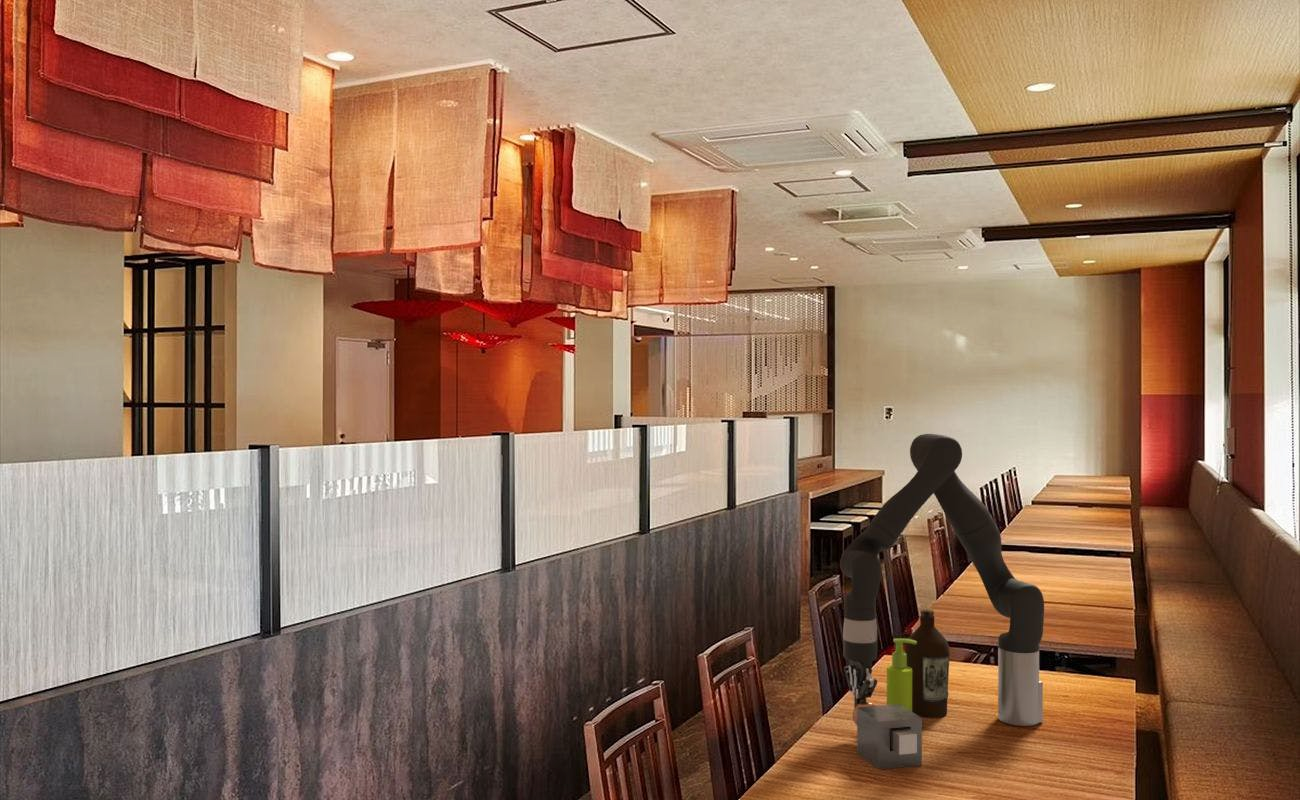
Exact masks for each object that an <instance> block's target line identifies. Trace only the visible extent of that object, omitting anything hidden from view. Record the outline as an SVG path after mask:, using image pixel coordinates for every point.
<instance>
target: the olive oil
mask: <svg viewBox="0 0 1300 800" xmlns="http://www.w3.org/2000/svg"><path fill="white" fill-rule="evenodd" d="M934 614H935V610H933V609H920V616H919V623H920V624H919V626H918V627H917V628H916V629H915V630H914V631H913V632H912V633H911V634H910V635H909V637H908V638H907V639H912V640H915V641H917V643H916V644H911V643H905V646H904V652H905V653H906V654H907V666H908V667H911V668H912V712H913V713H915V714H916V715H918V716H920V717H921V718H925V719H927V718H928V719H935V718H936V719H938V718H944V717H945V716H947V714H948V698H949V673H950V656H951V654H950V653H951V652H950V651H951V650H950V646H949V643H948V641H947V639H946V638H945V637H944V635H942V633H941V632H940V631H939V630H938V629H937V628H936V626H935V616H934Z"/></svg>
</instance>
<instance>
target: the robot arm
mask: <svg viewBox="0 0 1300 800" xmlns="http://www.w3.org/2000/svg"><path fill="white" fill-rule="evenodd" d="M909 456H910V460H911V462H912V465H913V466H914V468H915V469H916V471H917V472H916V473H915V474H914V476H913V477H912V478H911V480H909V481H908V482H907V484H905V485H904V486H903V487H902V488H901V489H900V490H899V491H897V492H896V493H895V494H894V495H893V496H891V497H890V498H889V499H888V500H887V501H885V503H884V504H883V505H882V506H881V508H879V510H878V511H877V513H875V515H874V517H873V518H872V520H871V521H870V523H869V524H868V526H867V528H866V529H865V530H864V531H863V532H861V533H860V534H858V536H856V538H855V539H854V540H853V541H852V542H851V543H850V544H849V545H848V546H847V547H846V549H845V550H844V551H843V552H842V555H841V558H840V561H839V568H840V570H841V572H842V574H843V575H844V576H846V577H847V578H849V579H851V588H850V589H851V590H849V591H848V592H846V594H845V595H844V605H843V606H844V608H843V609H844V611H843V612H844V614H843V615H844V618H843V619H844V620H843V628H842V629H843V631H842V634H843V637H842V639H843V640H842V641H843V643H842V644H843V645H842V647H843V648H842V649H843V650H842V651H843V652H842V653H843V654H842V655H843V658H844V659H846V660H847V661H848V666H844V667H843V671H844V675H845V679H846V682H847V686H848V690H849V691H850V692H852V697H853V700H854V701H853V703H854V704H853V705H854V706H853V707H854V709H855V707H856V706H857V705H858V704H859V703H861V702H865V701H867V698H872V695H873V693H874V691H875V690H876V689H875V688H876V687H877V684H878V680H877V678H873V676H872V673H873V670H872V669H873V668H872V662H873V661H877V658H878V626H877V608H876V607H877V605H876V603H877V597H878V594H879V593H878V592H879V589H880V584H881V579H882V567H881V566H882V565H881V562H880V560H879V558H878V556H879V554H880V553H881V552H883V551H888V550H890V549H891V548H892V547H893V546H895V543H896V542H897V541H898V539H899V537H901V535H902V534H903V532H904V531H905V529H906V527H908V524H909V523H910V522H911V520H912V519H913V518H914V516H915V515H916V514H917V513H918V512H919V510H921V508H922V507H923V505H925V504H926V502H927V501H928V500H929V499H930V498H931V496H933V495H934V496H935V499H936V500H937V502H938V503H939V506H940V508H941V509H942V511H943V513H944V515H945V516H946V519H947V520H948V522H949V524H950V526H951V527H952V530H953V532H954V533H955V536H956V537H957V538H958V540H959V542H960V544H961V545H962V547H963V548H964V550H965V552H966V553H967V555H968V557H969V559H970V561H971V563H972V564H973V566H974V568H975V569H976V571H977V574H979V577H980V580H981V582H982V584H983V586H984V588H985V591H986V593H987V596H988V598H989V601H990V602H991V605H992V606H993V608H994V610H995V611H996V612H997V613H998V614H1000V615H1001V616H1003V617H1006V618H1009V629H1008V631H1007V632H1003V633H1001V634H999V636H998V640H997V641H998V643H997V644H998V647H997V648H998V650H997V655H998V659H997V660H998V661H997V663H998V666H997V669H998V670H997V672H998V673H997V680H998V681H997V682H998V683H997V688H998V689H997V693H998V694H997V696H998V697H997V698H998V699H997V704H998V705H997V707H998V708H997V718H998V720H999V721H1000V722H1002V723H1005V724H1009V725H1012V726H1017V727H1019V726H1020V727H1031V726H1036V725H1038V724H1040V723H1043V721H1044V715H1043V714H1044V712H1043V710H1044V709H1043V708H1044V703H1043V702H1044V699H1043V698H1044V697H1043V696H1044V684H1043V682H1042V680H1040V645H1041V641H1042V638H1043V636H1044V635H1043V634H1044V622H1045V621H1044V620H1045V600H1044V596H1043V593H1042V591H1041V589H1040V588H1039V587H1038V586H1036V585H1035V584H1032V583H1029V582H1024V581H1022V580H1018V579H1017V578H1015V576H1014V575H1013V574H1012V572H1011V571H1010V569H1009V568H1008V565H1007V564H1006V562H1005V560H1004V558H1003V554H1002V536H1001V532H1000V529H999V527H998V526H997V523H996V521H995V520H994V518H993V516H992V514H991V513H990V511H989V509H988V508H987V507H986V505H985V504H984V503H983V501H981V500H980V498H979V497H977V495H976V494H975V493H974V492H972V491H971V490H970V489H969V488H968V486H966V484H965V483H963V481H962V480H961V479H960V477H959V476H958V475H957V473H956V470H957V469H958V468H959V466H960V464H961V462H962V458H963V449H962V445H961V444H960V443H959V441H958V440H957V439H955V438H953V437H951V436H948V435H943V434H935V433H925V434H919V435H918V436H916V437H915V438H914V439H913V441H912V442H911V444H910V448H909ZM854 709H853V710H854Z"/></svg>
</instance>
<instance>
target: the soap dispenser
mask: <svg viewBox="0 0 1300 800" xmlns="http://www.w3.org/2000/svg"><path fill="white" fill-rule="evenodd" d="M906 643H911V644H916V643H917V641H915V640H912V639H908V638H905V637H904V638H903V637H902V638H893V644H895V650H894V652H892V653H891V665H888V666H886V705H893V704H900V705H902V706H903V707H905V708H907V709H908V710H910V711H911V712H912V668H911V667H908V666H907V654H906V653H905V651H904V644H906Z"/></svg>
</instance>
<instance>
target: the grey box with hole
mask: <svg viewBox="0 0 1300 800" xmlns="http://www.w3.org/2000/svg"><path fill="white" fill-rule="evenodd" d="M856 726H857V727H856V729H857V732H856V736H857V737H856V738H857V740H856V742H857V744H856V746H857V749H856V750H857V751H856V752H857V755H859V756H860V757H861V758H862V759H864V760H865V761H867V763H869V764H871V765H872V766H873V767H874V768H876V770H878V771H879V770H887V769H898V768H909V767H915V766H916V767H918V766H922V765H923V717H920V716H918V715H916V714H915V713H913V712H911V711H910V710H908V709H907V708H905V707H903V706H902V705H900V704H893V705H887V704H885V705H875V706H869V707H857V725H856ZM900 727H907V728H909V729H910V730H912V731H913V732H915V733H916V734H917V753H912V754H902V755H899V754H897V753H896V752H895V751H893V750H892V749H891V748H890V728H900Z"/></svg>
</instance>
